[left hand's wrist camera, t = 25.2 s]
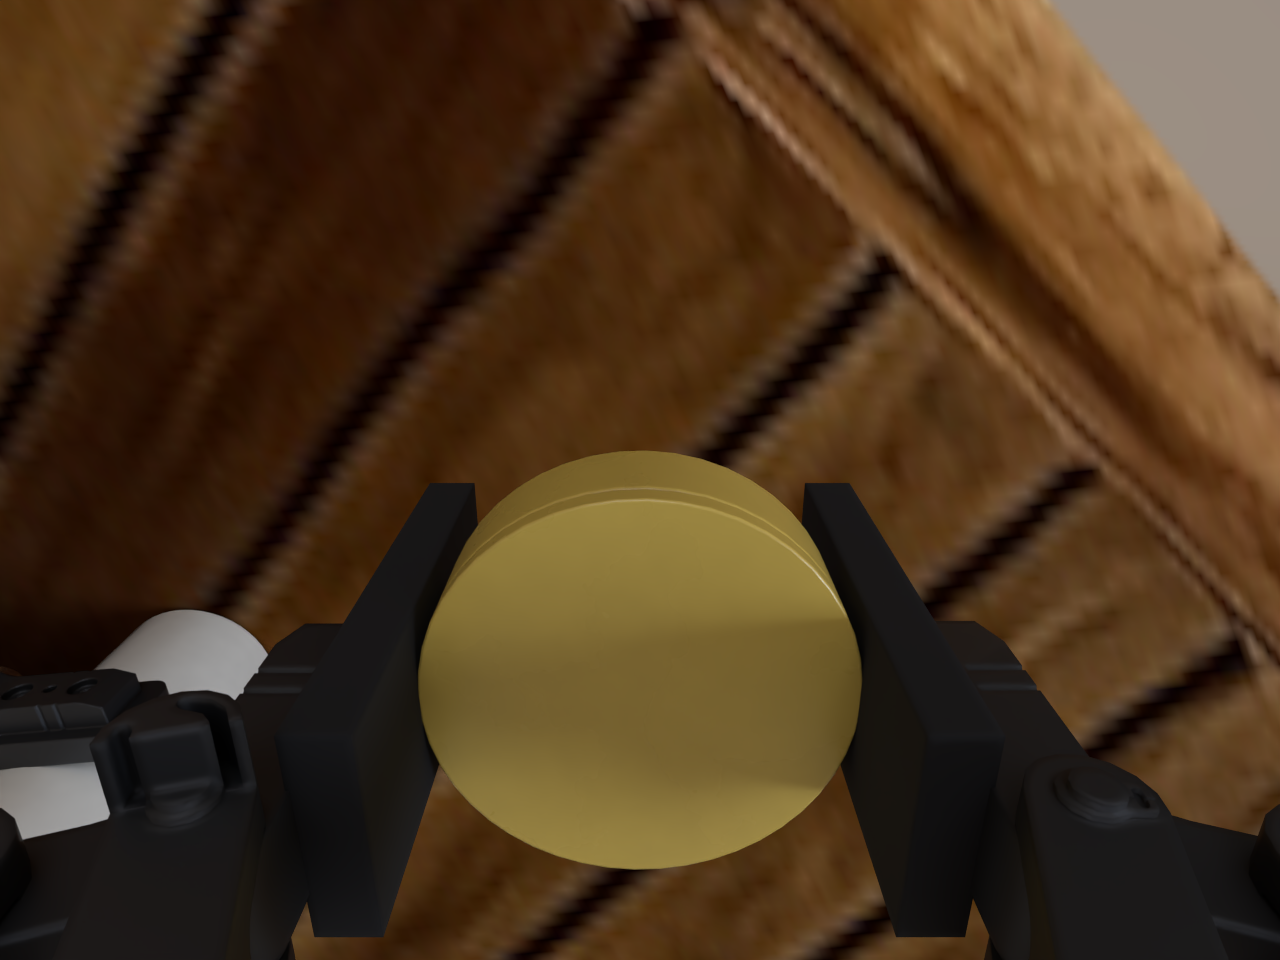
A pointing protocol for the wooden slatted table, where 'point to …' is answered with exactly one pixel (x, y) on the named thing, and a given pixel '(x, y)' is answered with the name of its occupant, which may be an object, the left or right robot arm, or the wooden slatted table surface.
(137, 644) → the jar
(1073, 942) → the left robot arm
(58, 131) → the wooden slatted table surface
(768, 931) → the wooden slatted table surface
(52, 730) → the right robot arm
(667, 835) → the lid
